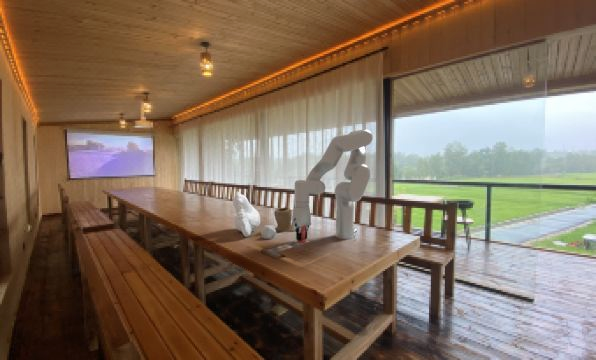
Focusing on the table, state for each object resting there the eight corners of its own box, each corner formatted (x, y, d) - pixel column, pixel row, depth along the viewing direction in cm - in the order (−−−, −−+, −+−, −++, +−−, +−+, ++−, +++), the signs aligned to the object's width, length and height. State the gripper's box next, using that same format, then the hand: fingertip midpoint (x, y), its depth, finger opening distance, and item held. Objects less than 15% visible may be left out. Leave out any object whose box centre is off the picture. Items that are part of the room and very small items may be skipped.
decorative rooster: (241, 215, 174) (225, 189, 158) (264, 212, 172) (250, 184, 156) (234, 248, 156) (215, 222, 140) (259, 245, 153) (243, 217, 137)
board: (298, 239, 145) (298, 237, 145) (315, 244, 137) (315, 242, 137) (261, 252, 127) (261, 249, 127) (278, 258, 118) (278, 255, 118)
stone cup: (270, 233, 157) (270, 208, 156) (278, 228, 169) (278, 205, 167) (294, 236, 153) (294, 210, 152) (301, 230, 164) (301, 206, 163)
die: (270, 244, 140) (279, 228, 142) (256, 235, 141) (266, 220, 143) (271, 245, 148) (280, 230, 150) (258, 236, 149) (267, 222, 151)
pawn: (301, 239, 142) (301, 221, 141) (308, 241, 138) (308, 223, 138) (295, 241, 138) (295, 223, 137) (302, 243, 135) (302, 224, 134)
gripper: (307, 201, 145) (306, 234, 147) (285, 205, 133) (285, 241, 135) (317, 203, 140) (317, 237, 142) (295, 207, 128) (295, 244, 130)
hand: (301, 238), depth 138 cm, fingers closed on pawn, 3 cm apart
